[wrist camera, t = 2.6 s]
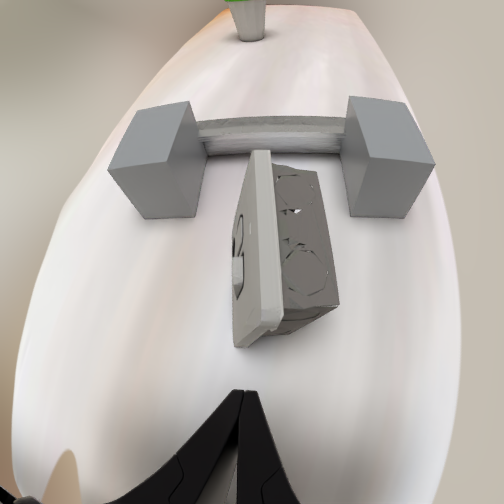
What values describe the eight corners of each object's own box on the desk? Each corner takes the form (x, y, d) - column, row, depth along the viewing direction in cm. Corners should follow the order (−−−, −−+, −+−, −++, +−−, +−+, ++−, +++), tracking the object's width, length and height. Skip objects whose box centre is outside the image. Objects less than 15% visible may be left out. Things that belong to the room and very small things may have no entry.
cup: (280, 35, 40) (274, -30, 27) (254, 47, 38) (244, -26, 24) (249, 30, 43) (240, -29, 29) (223, 42, 41) (209, -23, 27)
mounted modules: (404, 218, 21) (435, 164, 15) (144, 219, 24) (107, 170, 17) (386, 156, 24) (404, 102, 18) (162, 160, 27) (137, 109, 21)
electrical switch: (232, 230, 22) (221, 144, 14) (297, 228, 22) (317, 143, 14) (233, 349, 18) (214, 326, 10) (308, 345, 18) (351, 319, 10)
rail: (393, 164, 24) (402, 139, 20) (155, 167, 26) (143, 144, 23) (387, 148, 25) (395, 123, 21) (161, 151, 28) (150, 128, 24)
